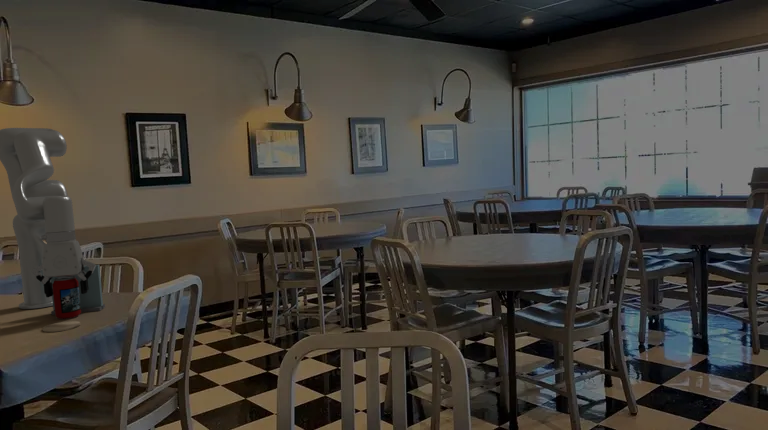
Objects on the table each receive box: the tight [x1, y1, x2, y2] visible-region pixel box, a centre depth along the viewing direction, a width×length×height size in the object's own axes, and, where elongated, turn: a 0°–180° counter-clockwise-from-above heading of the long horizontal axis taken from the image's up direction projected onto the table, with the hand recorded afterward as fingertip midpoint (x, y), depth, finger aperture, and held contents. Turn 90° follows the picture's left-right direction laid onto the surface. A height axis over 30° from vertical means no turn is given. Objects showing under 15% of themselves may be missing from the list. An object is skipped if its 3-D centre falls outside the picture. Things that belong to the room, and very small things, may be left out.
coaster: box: [42, 320, 81, 333], centre depth 156 cm, size 9×9×1 cm
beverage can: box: [53, 276, 82, 320], centre depth 168 cm, size 7×7×12 cm
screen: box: [50, 264, 106, 316], centre depth 176 cm, size 5×14×14 cm, turn 99°
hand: (67, 294), depth 168 cm, fingers open, 9 cm apart
